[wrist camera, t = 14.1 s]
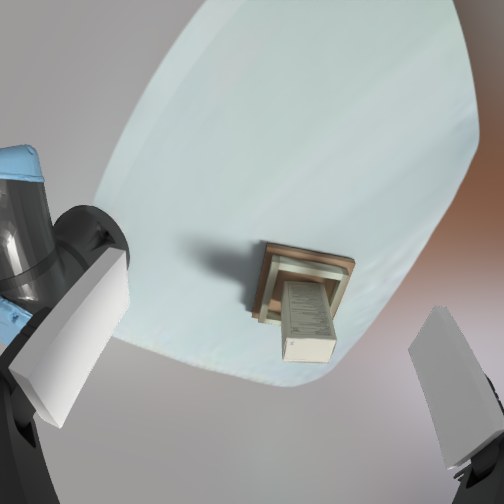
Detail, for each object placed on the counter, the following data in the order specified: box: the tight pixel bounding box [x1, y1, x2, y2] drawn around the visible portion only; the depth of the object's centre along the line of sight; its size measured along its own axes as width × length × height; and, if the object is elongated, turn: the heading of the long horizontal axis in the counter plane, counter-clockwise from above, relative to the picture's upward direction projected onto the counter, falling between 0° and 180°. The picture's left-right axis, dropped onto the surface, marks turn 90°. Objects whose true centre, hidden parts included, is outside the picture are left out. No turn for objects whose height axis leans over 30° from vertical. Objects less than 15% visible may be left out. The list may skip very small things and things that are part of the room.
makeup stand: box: [252, 243, 355, 326], centre depth 44 cm, size 13×13×3 cm
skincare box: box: [281, 281, 337, 363], centre depth 39 cm, size 6×4×12 cm
